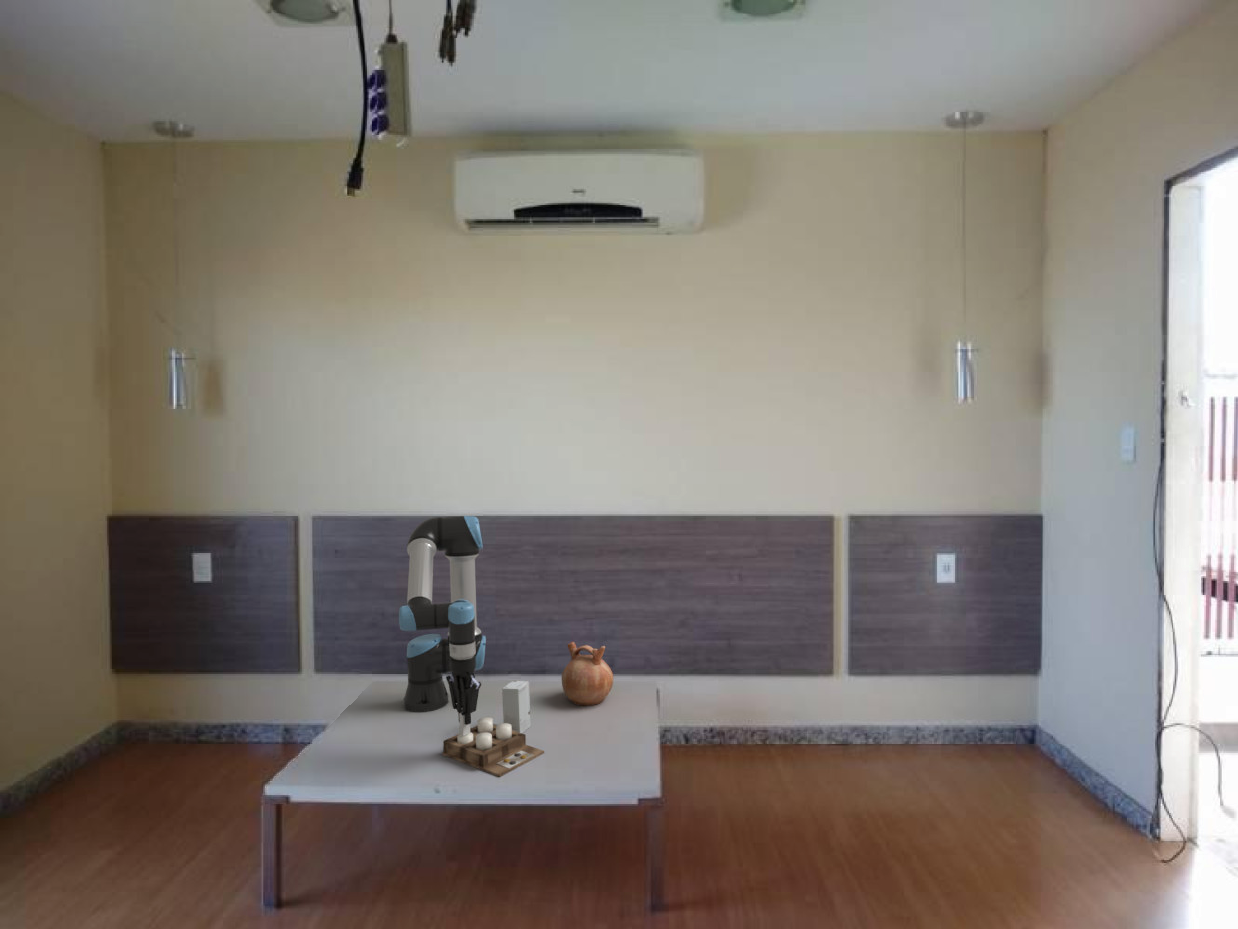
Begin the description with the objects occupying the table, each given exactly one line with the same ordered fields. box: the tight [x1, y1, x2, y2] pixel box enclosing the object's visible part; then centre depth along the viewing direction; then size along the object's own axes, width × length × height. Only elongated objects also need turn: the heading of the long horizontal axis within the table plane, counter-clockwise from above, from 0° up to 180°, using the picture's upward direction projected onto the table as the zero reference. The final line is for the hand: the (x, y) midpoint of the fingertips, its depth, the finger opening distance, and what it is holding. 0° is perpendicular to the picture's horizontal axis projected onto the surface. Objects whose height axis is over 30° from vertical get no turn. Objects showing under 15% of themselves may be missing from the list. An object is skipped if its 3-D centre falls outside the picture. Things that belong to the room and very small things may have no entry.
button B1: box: [476, 733, 492, 752], centre depth 219 cm, size 5×5×4 cm
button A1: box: [456, 732, 473, 745], centre depth 224 cm, size 5×5×4 cm
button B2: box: [496, 723, 512, 742], centre depth 225 cm, size 5×5×4 cm
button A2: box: [477, 716, 494, 733], centre depth 230 cm, size 5×5×4 cm
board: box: [441, 723, 545, 778], centre depth 223 cm, size 24×18×4 cm
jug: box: [561, 641, 614, 707], centre depth 264 cm, size 18×18×20 cm
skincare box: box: [501, 680, 531, 734], centre depth 239 cm, size 8×6×15 cm
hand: (465, 733), depth 224 cm, fingers closed
